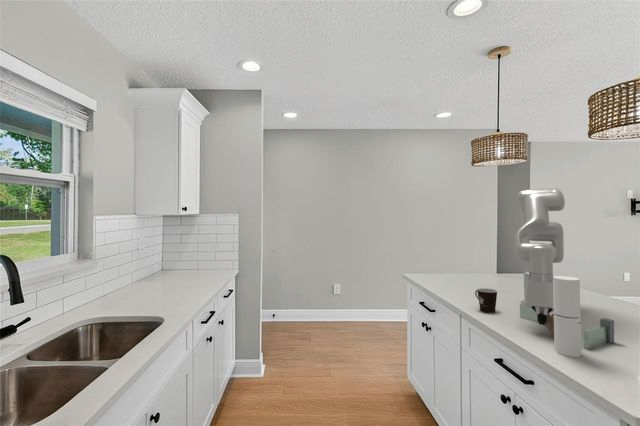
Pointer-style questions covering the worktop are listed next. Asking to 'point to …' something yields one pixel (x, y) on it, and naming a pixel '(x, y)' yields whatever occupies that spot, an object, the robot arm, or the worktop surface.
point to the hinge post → (529, 313)
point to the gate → (550, 323)
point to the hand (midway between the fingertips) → (542, 323)
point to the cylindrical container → (567, 315)
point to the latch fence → (599, 334)
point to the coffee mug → (487, 299)
